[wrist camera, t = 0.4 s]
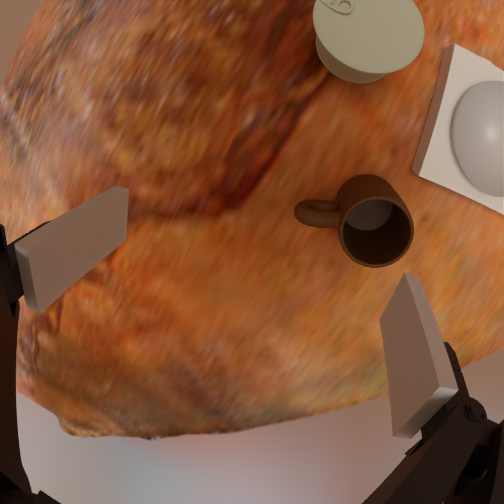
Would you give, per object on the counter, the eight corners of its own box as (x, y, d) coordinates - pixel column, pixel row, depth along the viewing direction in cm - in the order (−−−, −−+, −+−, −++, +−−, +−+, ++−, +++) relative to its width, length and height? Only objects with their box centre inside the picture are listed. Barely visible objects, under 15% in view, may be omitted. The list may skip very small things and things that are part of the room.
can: (335, -3, 27) (339, -45, 16) (408, 35, 27) (442, 10, 16) (302, 59, 31) (292, 39, 21) (375, 98, 31) (399, 95, 21)
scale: (445, 44, 26) (461, 37, 22) (541, 103, 25) (563, 106, 20) (410, 169, 34) (422, 179, 29) (507, 214, 32) (526, 228, 28)
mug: (295, 221, 40) (286, 254, 32) (303, 160, 36) (297, 178, 28) (388, 238, 38) (403, 275, 30) (402, 180, 35) (424, 203, 26)
